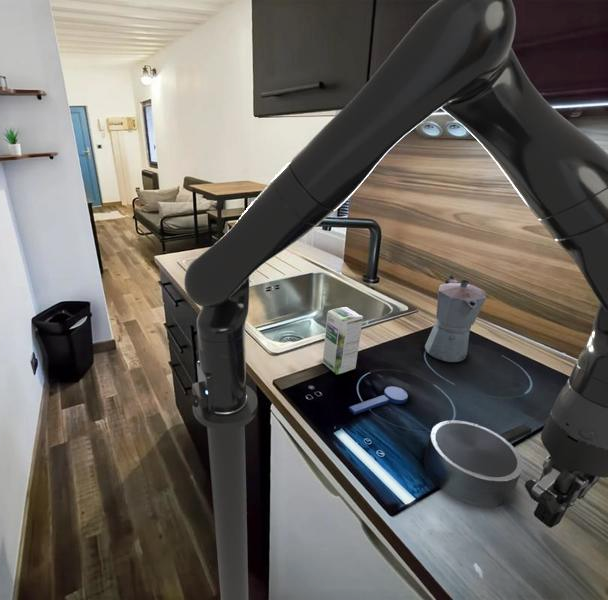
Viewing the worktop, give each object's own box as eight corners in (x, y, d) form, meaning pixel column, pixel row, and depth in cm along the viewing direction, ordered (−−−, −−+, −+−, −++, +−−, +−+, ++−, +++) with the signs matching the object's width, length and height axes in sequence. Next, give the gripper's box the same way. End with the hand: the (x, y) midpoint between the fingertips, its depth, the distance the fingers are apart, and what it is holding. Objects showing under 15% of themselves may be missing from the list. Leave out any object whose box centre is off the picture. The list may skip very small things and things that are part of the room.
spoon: (359, 419, 72) (359, 415, 72) (344, 405, 76) (344, 401, 76) (411, 400, 76) (412, 396, 76) (395, 387, 80) (396, 384, 80)
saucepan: (474, 520, 53) (485, 492, 50) (407, 458, 63) (413, 432, 61) (558, 476, 59) (572, 449, 56) (483, 426, 69) (492, 401, 66)
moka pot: (435, 369, 85) (455, 291, 77) (411, 335, 99) (426, 266, 90) (480, 370, 84) (505, 291, 75) (449, 335, 97) (468, 265, 89)
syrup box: (321, 362, 90) (325, 310, 84) (340, 356, 92) (346, 305, 86) (336, 375, 85) (342, 321, 79) (356, 368, 87) (364, 315, 81)
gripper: (590, 389, 47) (545, 481, 55) (521, 419, 43) (483, 513, 51) (673, 428, 41) (610, 526, 48) (601, 468, 37) (544, 568, 44)
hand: (545, 519), depth 49 cm, fingers closed
